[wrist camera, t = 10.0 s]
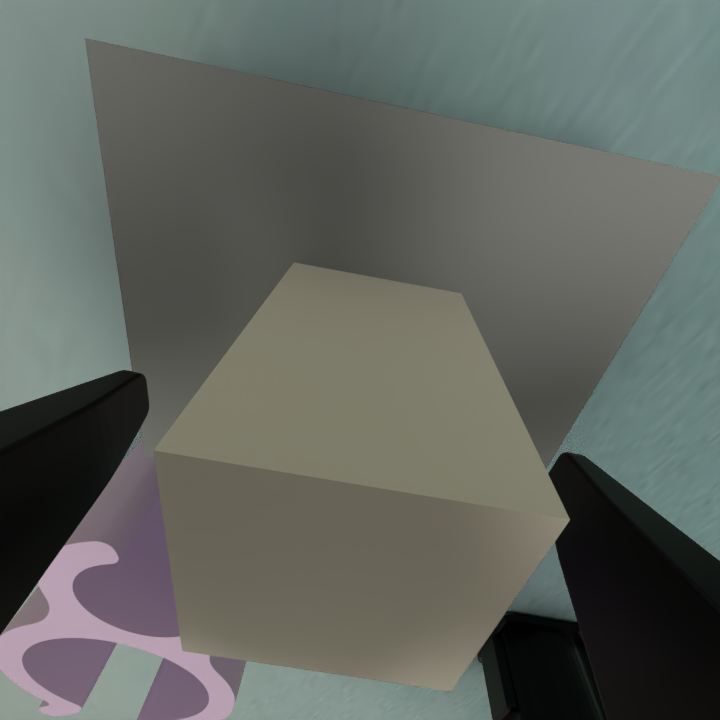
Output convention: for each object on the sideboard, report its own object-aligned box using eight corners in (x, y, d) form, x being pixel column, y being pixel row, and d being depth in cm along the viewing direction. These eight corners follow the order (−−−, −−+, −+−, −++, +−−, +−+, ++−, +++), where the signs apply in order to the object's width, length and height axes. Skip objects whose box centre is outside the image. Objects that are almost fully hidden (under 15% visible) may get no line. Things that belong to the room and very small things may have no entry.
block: (461, 293, 10) (570, 520, 4) (419, 422, 12) (451, 692, 6) (293, 262, 10) (154, 450, 4) (282, 399, 12) (182, 651, 6)
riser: (609, 163, 13) (722, 177, 8) (485, 432, 19) (515, 520, 15) (191, 73, 12) (85, 37, 8) (201, 380, 18) (144, 455, 14)
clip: (102, 390, 19) (-25, 504, 13) (331, 473, 21) (309, 604, 15) (79, 586, 29) (-1, 704, 23) (238, 631, 31) (203, 750, 25)
